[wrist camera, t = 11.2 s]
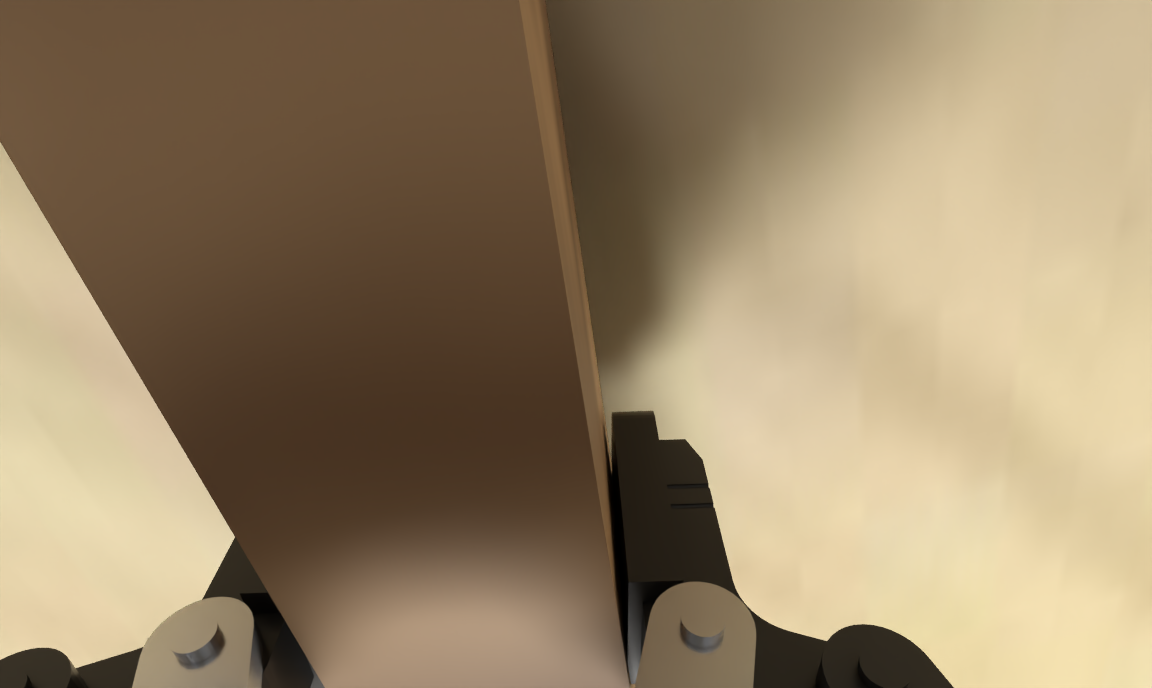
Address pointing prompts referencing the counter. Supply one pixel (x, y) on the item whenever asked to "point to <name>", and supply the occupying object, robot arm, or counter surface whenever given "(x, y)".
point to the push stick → (349, 309)
